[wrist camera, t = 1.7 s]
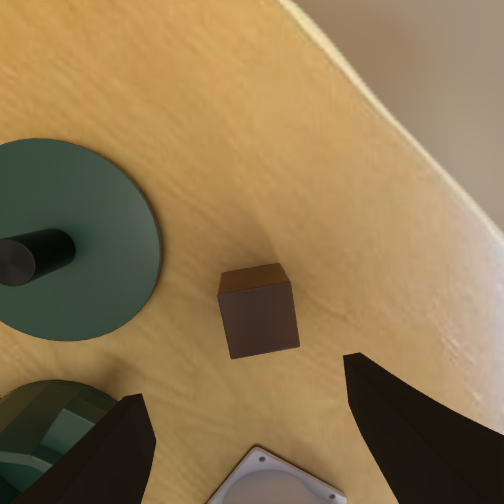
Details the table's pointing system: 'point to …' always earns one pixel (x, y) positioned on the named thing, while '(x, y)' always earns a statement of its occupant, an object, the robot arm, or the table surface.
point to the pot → (43, 429)
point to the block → (258, 311)
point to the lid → (72, 242)
